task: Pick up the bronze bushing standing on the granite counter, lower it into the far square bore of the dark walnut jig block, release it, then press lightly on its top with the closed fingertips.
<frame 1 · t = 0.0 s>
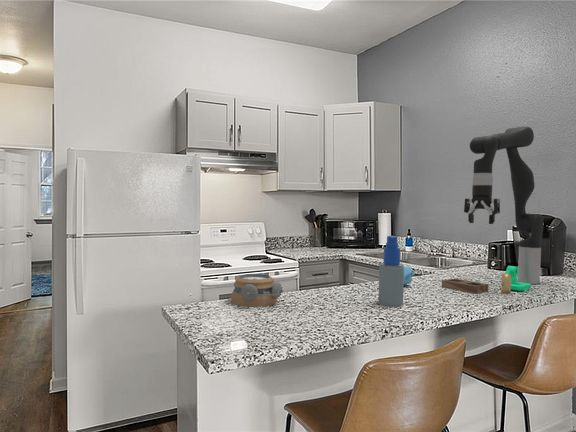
hand: (481, 223, 175), 29 cm above the countertop, fingers open, 8 cm apart
bushing: (505, 293, 177), on the countertop
camera mount: (516, 290, 185), on the countertop
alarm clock: (257, 303, 153), on the countertop
spray bottle: (390, 304, 155), on the countertop
teapot: (396, 285, 191), on the countertop
jig: (464, 289, 184), on the countertop
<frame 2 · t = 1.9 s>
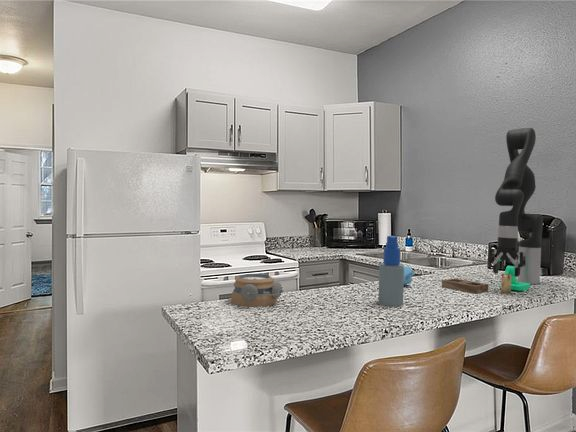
hand: (506, 274, 177), 8 cm above the countertop, fingers open, 8 cm apart
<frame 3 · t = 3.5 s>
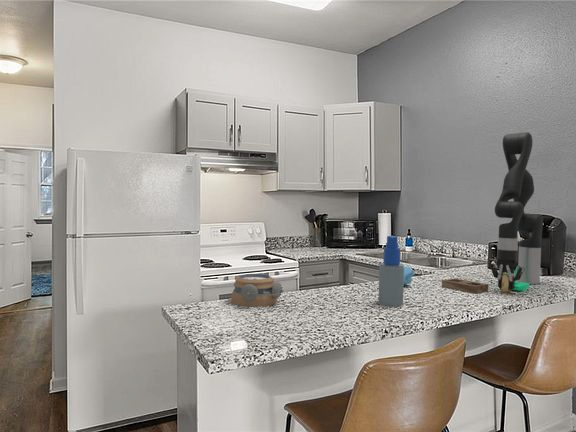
hand: (505, 289, 177), 2 cm above the countertop, fingers closed on bushing, 3 cm apart
bushing: (505, 292, 177), on the countertop, touching gripper
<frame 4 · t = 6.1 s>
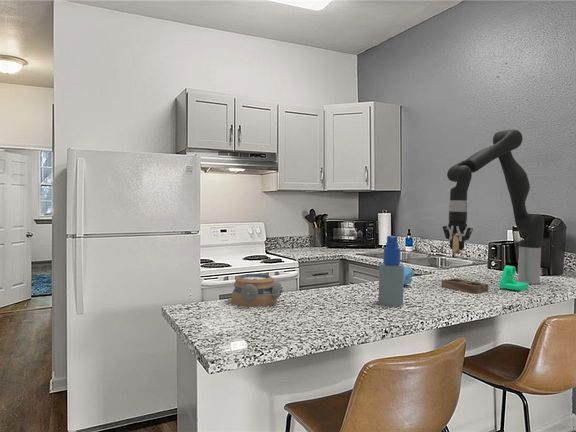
hand: (456, 249, 187), 17 cm above the countertop, fingers closed on bushing, 3 cm apart
bushing: (456, 253, 187), point 15 cm above the countertop, touching gripper
when the fingers open (4 cm above the countertop, at t = 8.6 s): bushing drops 2 cm, resting in jig.
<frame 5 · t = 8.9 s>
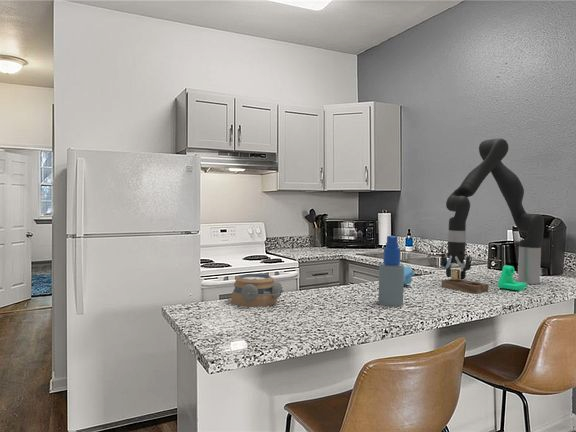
hand: (455, 277, 187), 4 cm above the countertop, fingers open, 6 cm apart
bushing: (455, 287, 188), resting in jig
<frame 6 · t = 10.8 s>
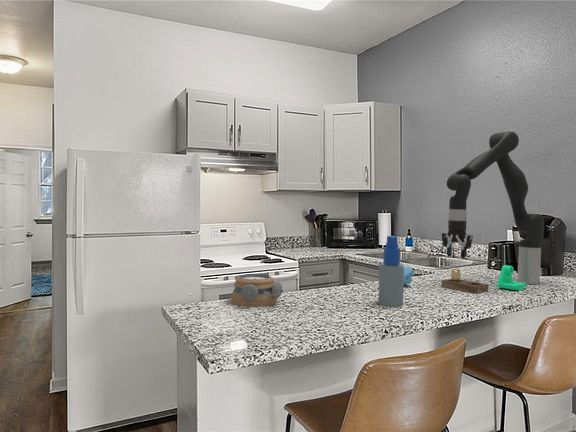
hand: (456, 257, 187), 14 cm above the countertop, fingers open, 6 cm apart
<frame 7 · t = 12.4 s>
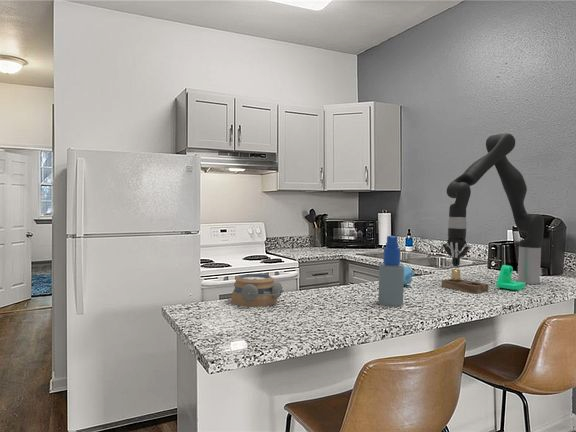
hand: (455, 266, 187), 10 cm above the countertop, fingers closed
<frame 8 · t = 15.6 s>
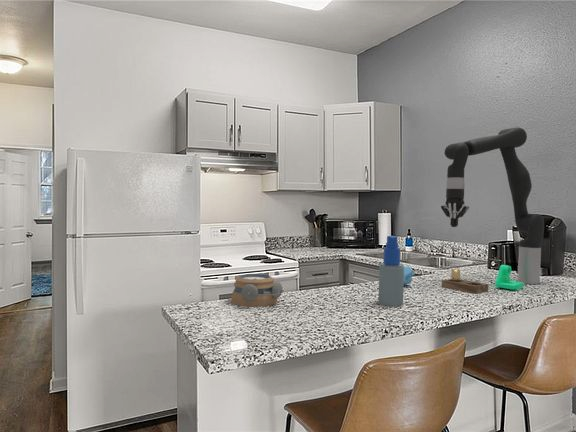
hand: (454, 226, 188), 27 cm above the countertop, fingers closed
at the end: bushing 0.1 cm from the target spot on the jig, point 0.0 cm above the jig's base; bushing tilted 1°; the gripper is holding nothing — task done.
